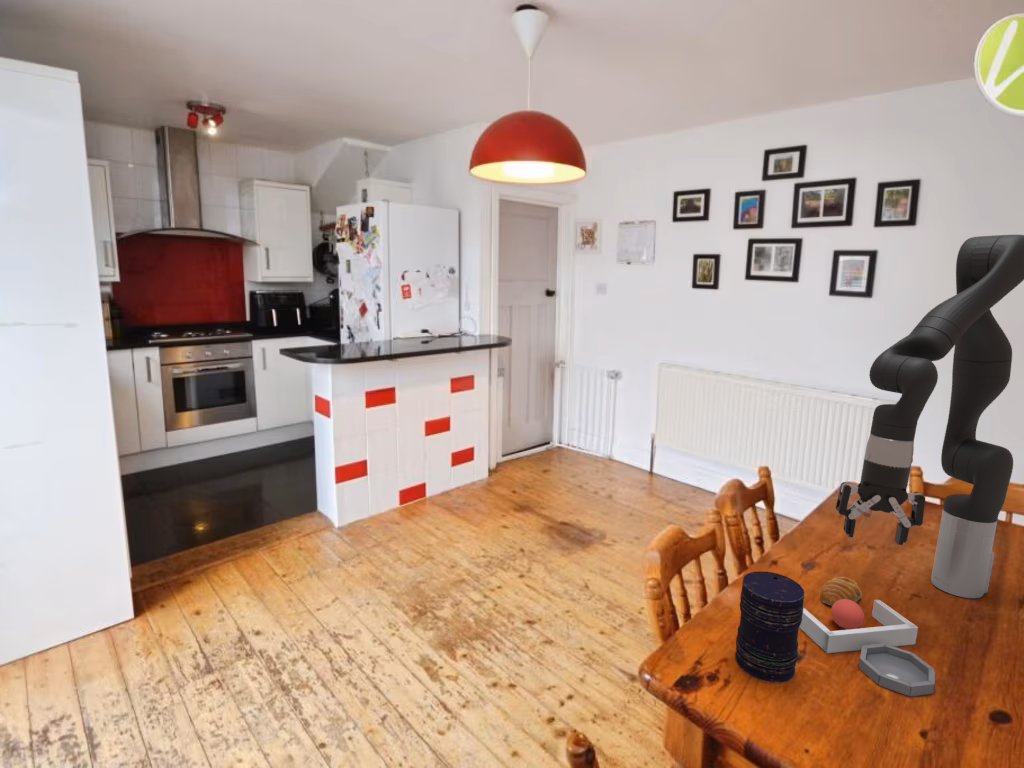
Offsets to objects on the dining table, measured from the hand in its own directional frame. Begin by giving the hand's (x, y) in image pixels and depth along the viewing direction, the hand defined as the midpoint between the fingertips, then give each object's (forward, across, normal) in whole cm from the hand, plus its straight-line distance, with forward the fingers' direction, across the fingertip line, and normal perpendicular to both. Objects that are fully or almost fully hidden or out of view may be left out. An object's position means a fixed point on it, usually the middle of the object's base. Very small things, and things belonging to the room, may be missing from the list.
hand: (873, 539), depth 111 cm
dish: (+17, -1, +17) cm, 24 cm away
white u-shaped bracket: (+17, +3, +6) cm, 18 cm away
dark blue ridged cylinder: (+18, +20, +21) cm, 34 cm away
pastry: (+17, +2, -6) cm, 18 cm away
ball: (+17, +4, +5) cm, 18 cm away
